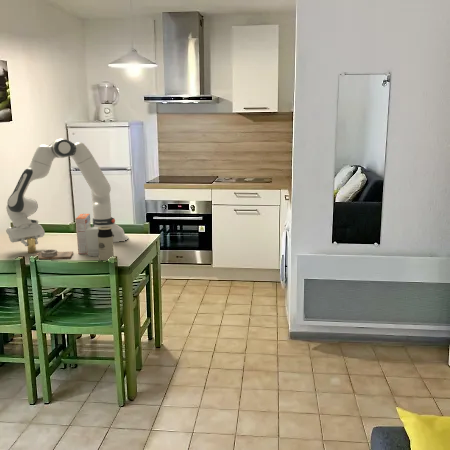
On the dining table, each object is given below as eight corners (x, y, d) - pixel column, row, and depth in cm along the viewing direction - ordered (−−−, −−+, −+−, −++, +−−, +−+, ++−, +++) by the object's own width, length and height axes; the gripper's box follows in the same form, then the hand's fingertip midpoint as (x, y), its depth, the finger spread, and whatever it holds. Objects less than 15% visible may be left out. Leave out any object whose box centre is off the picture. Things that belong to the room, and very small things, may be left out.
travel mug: (107, 256, 289) (106, 225, 285) (116, 259, 284) (115, 227, 280) (96, 259, 283) (94, 227, 279) (105, 262, 278) (103, 229, 274)
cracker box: (82, 247, 308) (80, 213, 303) (92, 247, 308) (90, 213, 304) (77, 254, 294) (75, 218, 290) (88, 254, 294) (86, 218, 290)
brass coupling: (36, 251, 301) (35, 237, 299) (35, 253, 296) (34, 239, 295) (29, 251, 300) (27, 238, 298) (27, 253, 296) (26, 239, 294)
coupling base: (73, 253, 295) (72, 248, 295) (70, 258, 285) (69, 253, 284) (37, 254, 293) (36, 249, 292) (32, 260, 282) (32, 254, 281)
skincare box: (104, 252, 296) (102, 226, 293) (101, 256, 290) (100, 229, 287) (89, 253, 296) (88, 226, 293) (86, 256, 290) (85, 229, 286)
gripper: (6, 225, 292) (16, 244, 287) (40, 219, 306) (49, 238, 302) (3, 231, 296) (13, 251, 291) (37, 226, 310) (46, 244, 306)
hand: (32, 244), depth 297 cm, fingers closed on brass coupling, 4 cm apart
